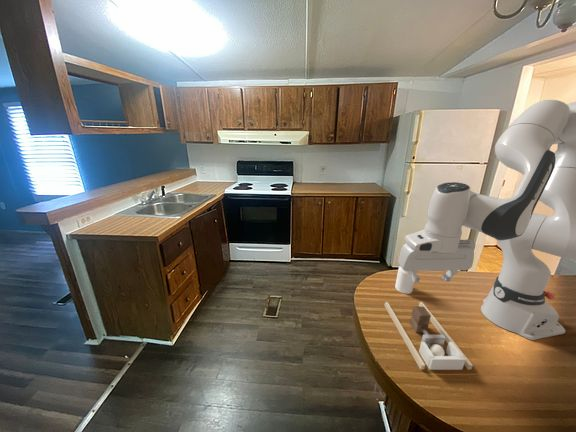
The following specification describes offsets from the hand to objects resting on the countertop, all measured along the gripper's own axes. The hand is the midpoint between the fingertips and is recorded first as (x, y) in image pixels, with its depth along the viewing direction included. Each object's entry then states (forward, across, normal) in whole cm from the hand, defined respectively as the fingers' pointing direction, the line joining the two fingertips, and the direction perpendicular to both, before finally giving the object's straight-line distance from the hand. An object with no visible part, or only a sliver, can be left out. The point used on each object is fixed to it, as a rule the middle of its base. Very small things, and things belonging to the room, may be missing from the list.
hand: (430, 280), depth 70 cm
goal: (+19, 0, +12) cm, 22 cm away
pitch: (+20, 0, +2) cm, 20 cm away
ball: (+17, 0, +10) cm, 20 cm away
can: (+21, -4, -21) cm, 30 cm away
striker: (+19, +1, +3) cm, 19 cm away
